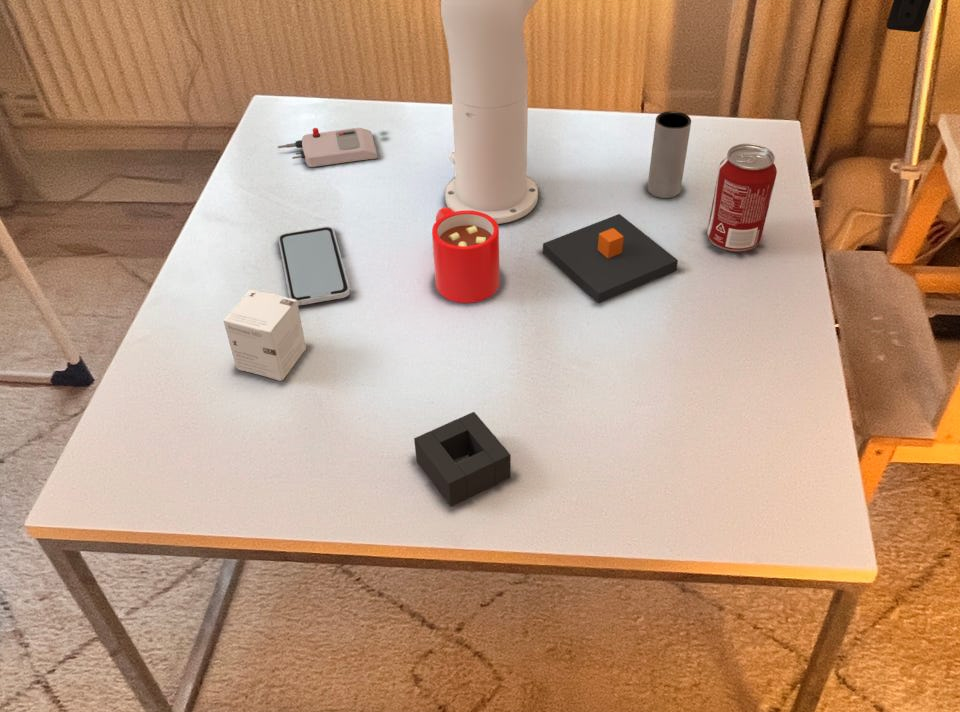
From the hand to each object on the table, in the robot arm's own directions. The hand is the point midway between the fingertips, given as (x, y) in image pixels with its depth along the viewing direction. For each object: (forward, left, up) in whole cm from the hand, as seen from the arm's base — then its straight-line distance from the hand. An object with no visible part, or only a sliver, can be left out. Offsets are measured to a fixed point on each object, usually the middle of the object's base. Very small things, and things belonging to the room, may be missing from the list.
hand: (903, 8), depth 93 cm
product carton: (-21, -66, -31) cm, 76 cm away
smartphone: (-34, -55, -31) cm, 71 cm away
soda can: (-10, -7, -31) cm, 33 cm away
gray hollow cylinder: (-24, -7, -31) cm, 39 cm away
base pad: (-15, -23, -31) cm, 41 cm away
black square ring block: (+5, -56, -31) cm, 64 cm away
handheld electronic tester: (-58, -41, -31) cm, 77 cm away
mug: (-23, -40, -31) cm, 55 cm away
